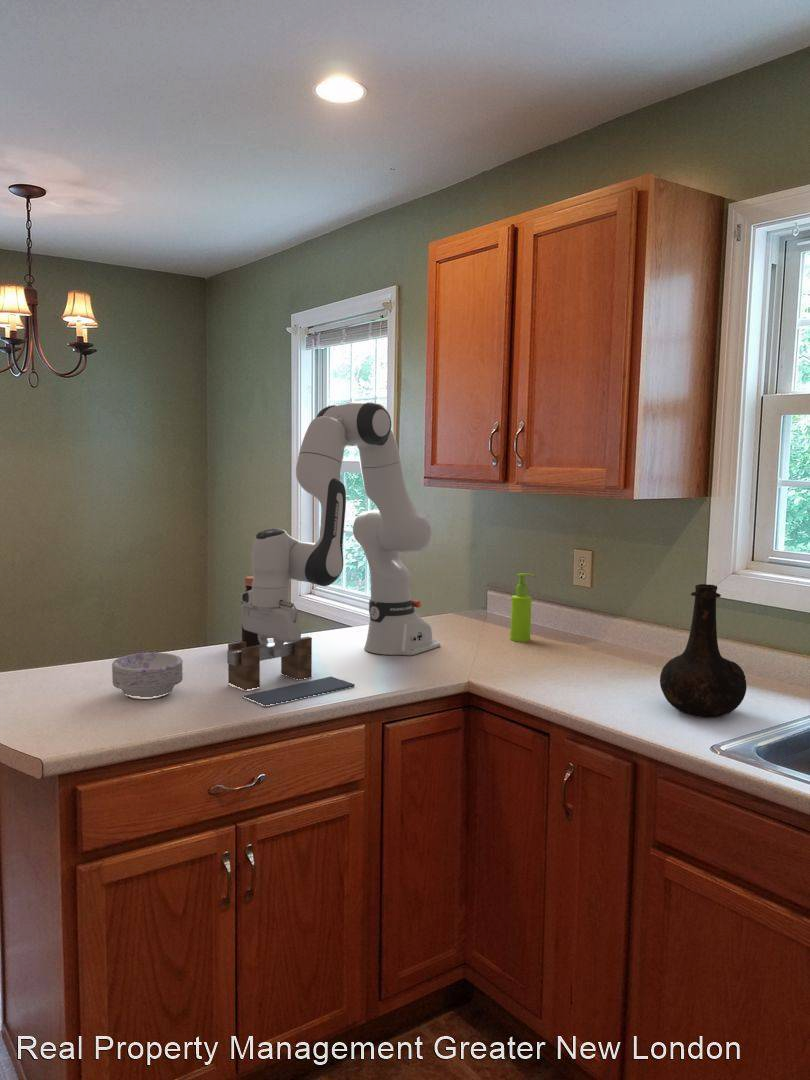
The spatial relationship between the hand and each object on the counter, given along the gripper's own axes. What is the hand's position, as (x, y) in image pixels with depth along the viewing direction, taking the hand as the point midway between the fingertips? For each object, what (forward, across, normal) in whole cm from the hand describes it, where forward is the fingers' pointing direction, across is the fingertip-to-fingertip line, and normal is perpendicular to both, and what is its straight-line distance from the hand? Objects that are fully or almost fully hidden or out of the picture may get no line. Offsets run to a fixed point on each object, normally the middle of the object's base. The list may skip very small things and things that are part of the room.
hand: (270, 654), depth 200 cm
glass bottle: (+7, -80, -58) cm, 99 cm away
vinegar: (+7, +32, -16) cm, 36 cm away
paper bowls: (+7, +9, +27) cm, 29 cm away
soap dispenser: (+7, -10, -83) cm, 84 cm away
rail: (+1, 0, 0) cm, 1 cm away
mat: (+7, -12, 0) cm, 14 cm away
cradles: (+7, 0, 0) cm, 7 cm away
